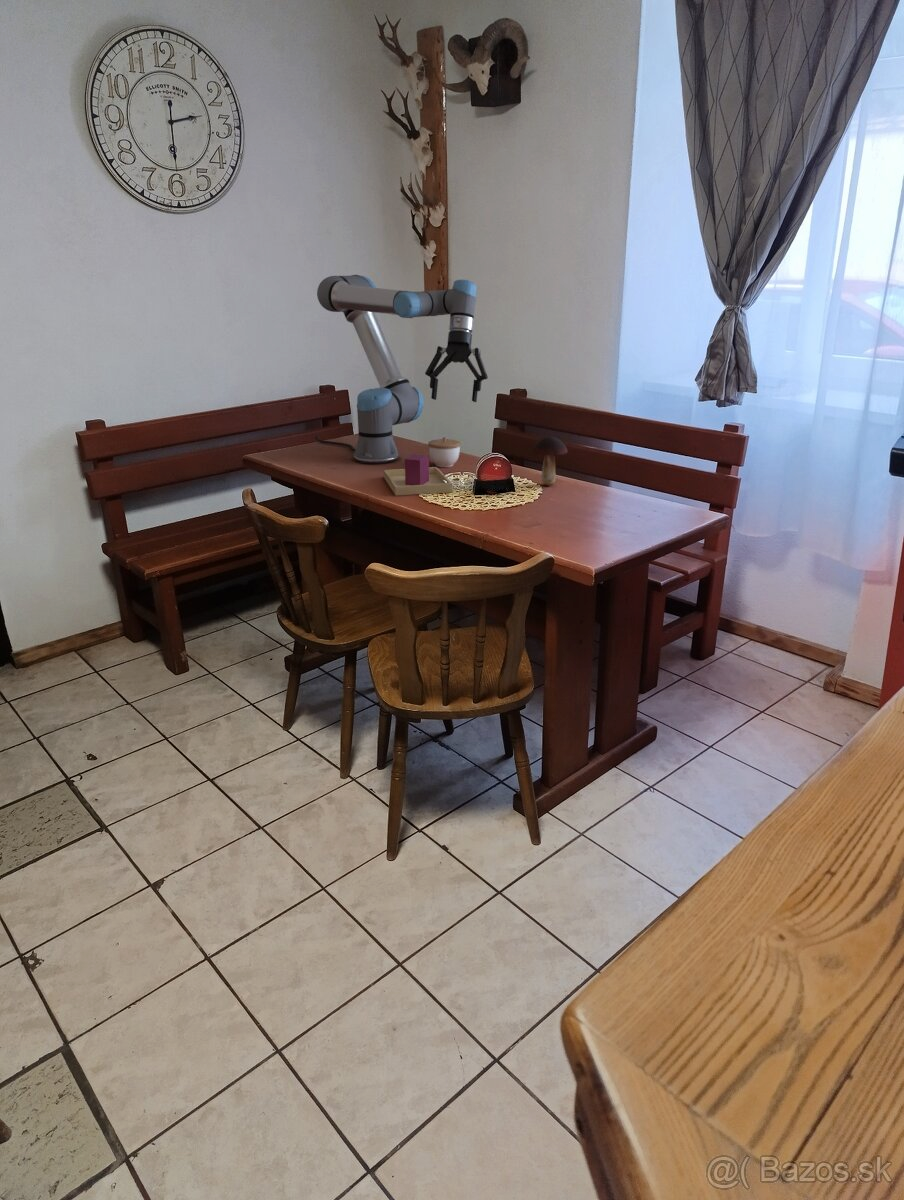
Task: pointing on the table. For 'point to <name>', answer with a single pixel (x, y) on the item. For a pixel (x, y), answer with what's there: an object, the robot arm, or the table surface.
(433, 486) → the tray
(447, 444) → the trinket box
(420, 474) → the mulberry block
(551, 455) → the decorative mushroom
